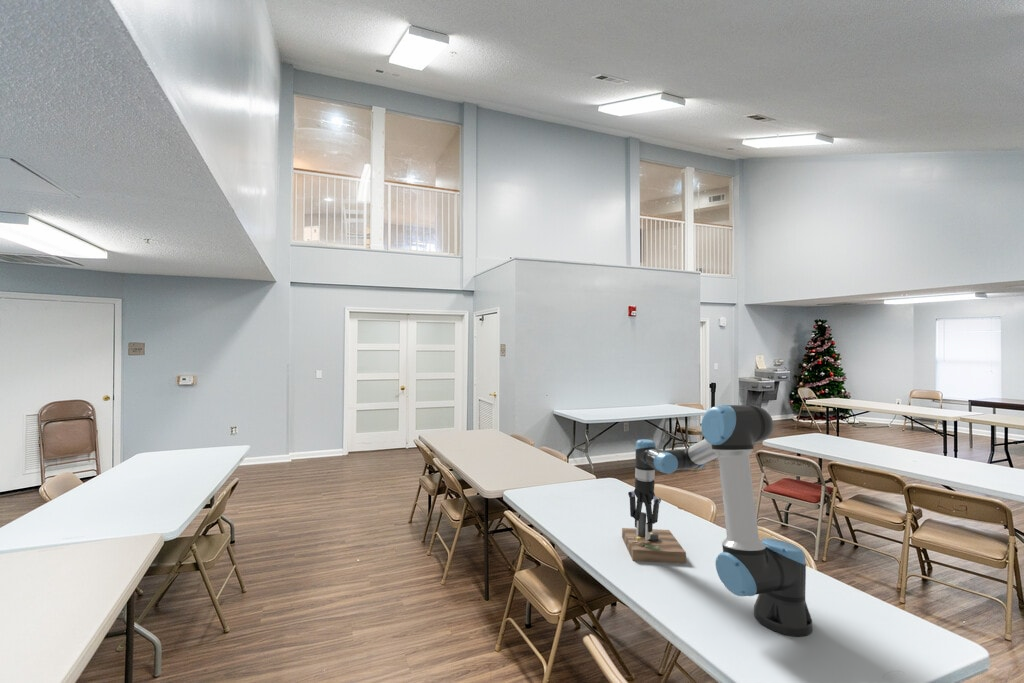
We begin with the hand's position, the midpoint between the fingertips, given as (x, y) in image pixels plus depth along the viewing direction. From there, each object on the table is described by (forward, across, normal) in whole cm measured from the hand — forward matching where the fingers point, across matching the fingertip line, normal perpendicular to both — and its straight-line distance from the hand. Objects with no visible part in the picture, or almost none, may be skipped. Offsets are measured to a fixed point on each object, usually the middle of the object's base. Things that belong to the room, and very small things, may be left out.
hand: (643, 537), depth 182 cm
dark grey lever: (+2, 0, -2) cm, 3 cm away
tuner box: (+6, -1, -6) cm, 8 cm away
